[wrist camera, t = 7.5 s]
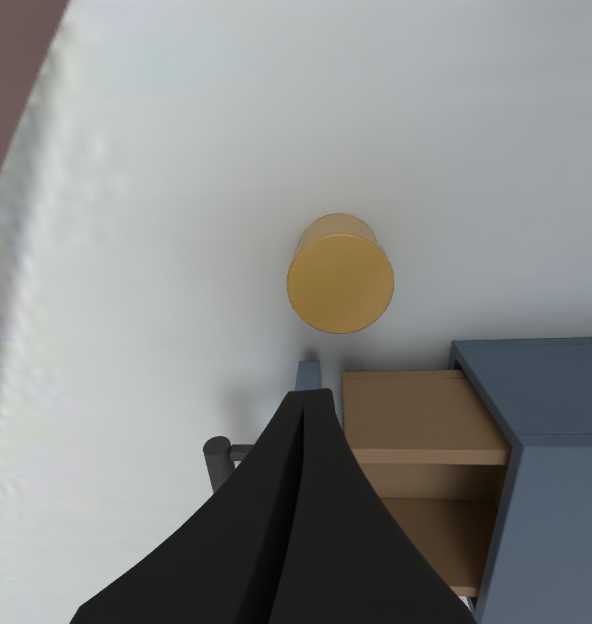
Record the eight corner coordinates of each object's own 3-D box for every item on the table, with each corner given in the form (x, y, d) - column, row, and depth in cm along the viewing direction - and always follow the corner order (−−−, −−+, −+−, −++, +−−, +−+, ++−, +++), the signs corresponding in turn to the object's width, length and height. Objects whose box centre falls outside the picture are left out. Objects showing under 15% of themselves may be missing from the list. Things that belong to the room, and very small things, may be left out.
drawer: (243, 494, 25) (218, 592, 19) (217, 362, 20) (174, 440, 15) (496, 500, 23) (550, 612, 17) (528, 356, 18) (616, 443, 13)
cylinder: (294, 216, 17) (281, 236, 13) (378, 210, 17) (396, 229, 12) (300, 294, 19) (291, 336, 15) (377, 290, 19) (392, 333, 14)
